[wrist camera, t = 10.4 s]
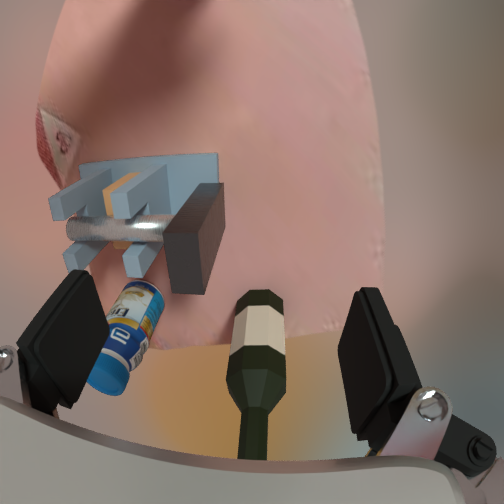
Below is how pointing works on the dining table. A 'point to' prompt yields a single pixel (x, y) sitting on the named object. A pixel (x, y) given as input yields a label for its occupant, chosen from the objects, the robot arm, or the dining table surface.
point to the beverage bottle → (127, 336)
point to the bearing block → (131, 199)
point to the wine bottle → (257, 367)
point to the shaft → (169, 235)
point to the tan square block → (109, 205)
